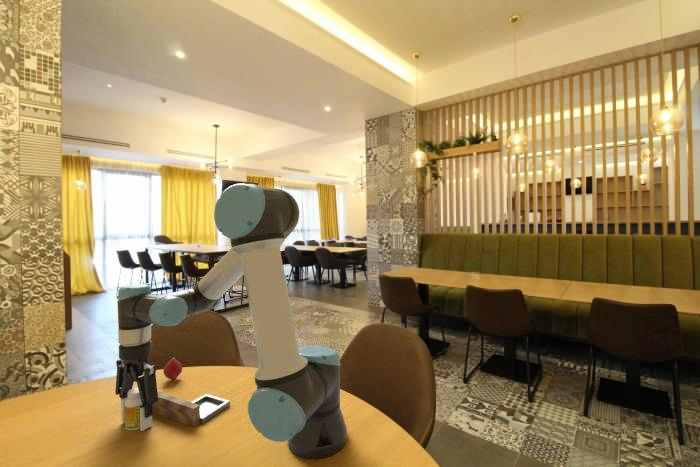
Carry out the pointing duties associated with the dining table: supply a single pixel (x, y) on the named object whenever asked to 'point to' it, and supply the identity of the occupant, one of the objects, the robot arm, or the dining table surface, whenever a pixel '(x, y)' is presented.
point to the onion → (172, 369)
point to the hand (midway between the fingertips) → (136, 424)
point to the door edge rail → (177, 409)
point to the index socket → (210, 406)
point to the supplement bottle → (132, 410)
